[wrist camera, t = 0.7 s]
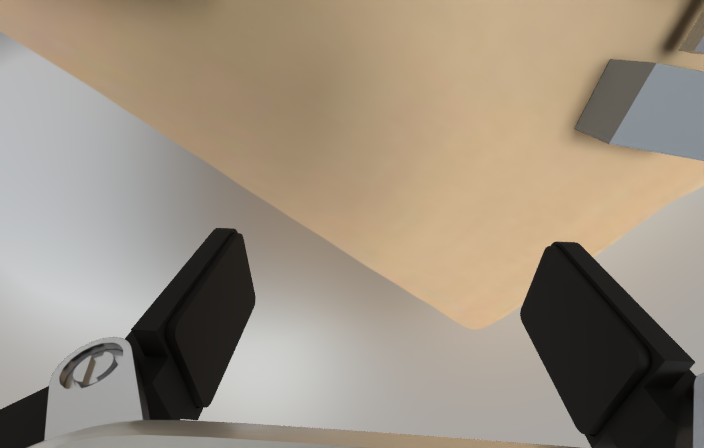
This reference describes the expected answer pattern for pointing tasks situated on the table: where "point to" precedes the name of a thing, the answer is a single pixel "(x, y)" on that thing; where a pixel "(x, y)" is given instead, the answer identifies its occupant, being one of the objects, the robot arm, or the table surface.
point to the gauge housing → (648, 108)
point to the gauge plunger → (695, 38)
